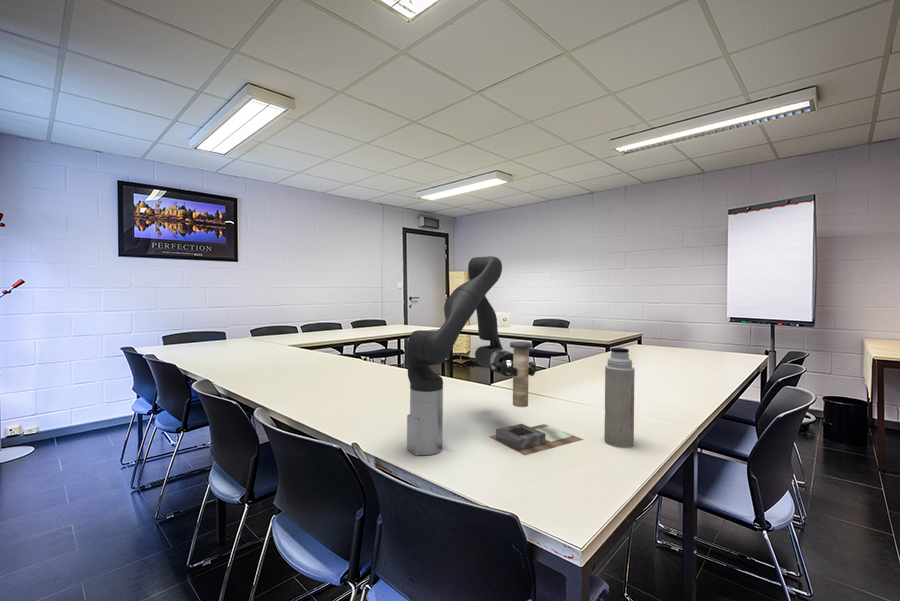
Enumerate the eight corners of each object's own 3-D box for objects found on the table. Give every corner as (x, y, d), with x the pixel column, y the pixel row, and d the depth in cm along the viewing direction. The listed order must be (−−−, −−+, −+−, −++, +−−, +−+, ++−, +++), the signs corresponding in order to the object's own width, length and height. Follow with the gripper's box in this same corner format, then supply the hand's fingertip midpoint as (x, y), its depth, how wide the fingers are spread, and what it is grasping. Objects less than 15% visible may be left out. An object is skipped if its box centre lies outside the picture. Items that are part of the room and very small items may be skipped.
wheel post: (519, 409, 107) (520, 344, 107) (504, 403, 113) (505, 342, 113) (536, 406, 111) (537, 343, 110) (521, 401, 116) (522, 341, 116)
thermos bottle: (636, 441, 115) (637, 348, 115) (630, 449, 109) (631, 350, 109) (608, 435, 120) (609, 345, 120) (601, 443, 114) (602, 348, 114)
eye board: (524, 459, 102) (524, 444, 102) (488, 439, 116) (488, 426, 116) (583, 442, 114) (583, 429, 114) (544, 427, 128) (544, 415, 128)
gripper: (483, 351, 124) (500, 359, 107) (525, 350, 127) (548, 358, 110) (483, 374, 124) (500, 386, 107) (525, 373, 127) (547, 384, 110)
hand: (524, 372), depth 109 cm, fingers closed on wheel post, 4 cm apart
